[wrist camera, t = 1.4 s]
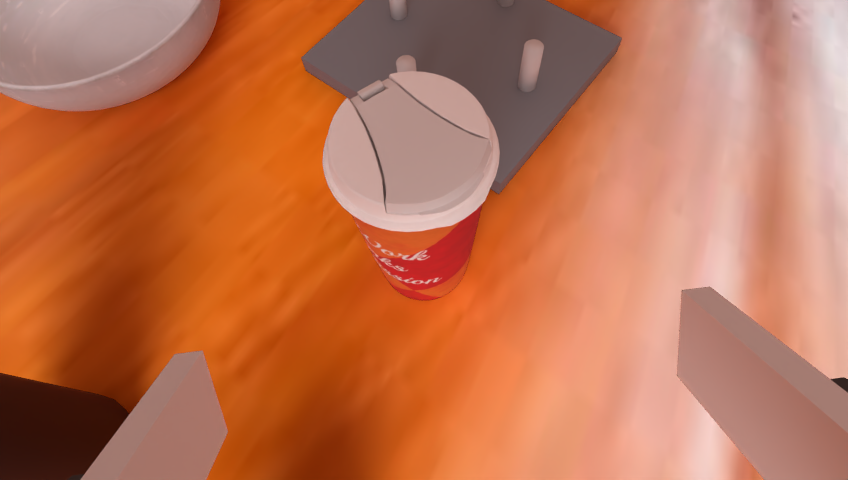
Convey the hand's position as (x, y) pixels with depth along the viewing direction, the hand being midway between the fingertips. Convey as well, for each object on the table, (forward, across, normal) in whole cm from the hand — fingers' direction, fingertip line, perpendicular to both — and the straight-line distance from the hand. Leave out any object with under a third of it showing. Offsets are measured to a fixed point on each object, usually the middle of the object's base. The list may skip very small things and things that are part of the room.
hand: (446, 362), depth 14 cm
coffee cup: (+22, 0, -6) cm, 22 cm away
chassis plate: (+34, +4, +7) cm, 35 cm away
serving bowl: (+38, -24, +11) cm, 47 cm away
